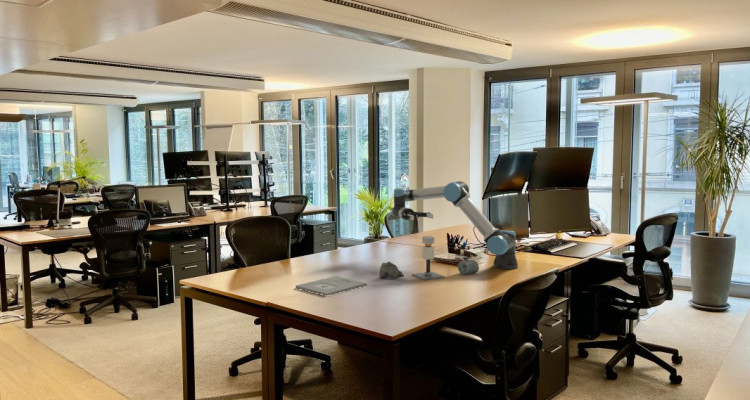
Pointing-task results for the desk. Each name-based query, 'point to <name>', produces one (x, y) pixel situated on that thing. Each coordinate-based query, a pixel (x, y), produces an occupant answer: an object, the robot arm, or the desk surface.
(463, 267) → the grey oval lump
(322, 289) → the award plaque
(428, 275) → the stand
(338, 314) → the desk surface
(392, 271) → the mineral rock
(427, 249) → the sleeve
